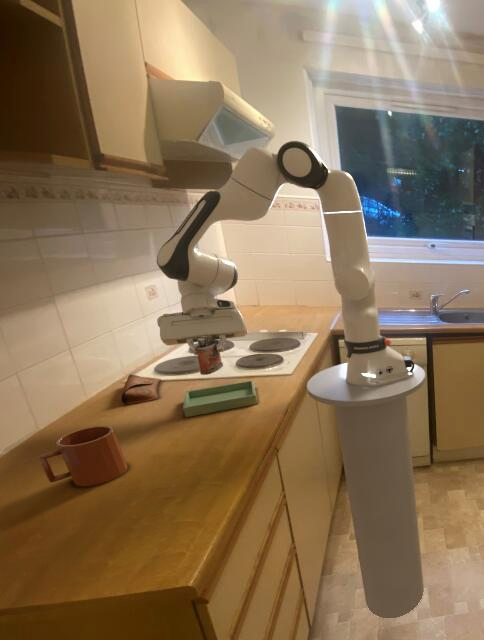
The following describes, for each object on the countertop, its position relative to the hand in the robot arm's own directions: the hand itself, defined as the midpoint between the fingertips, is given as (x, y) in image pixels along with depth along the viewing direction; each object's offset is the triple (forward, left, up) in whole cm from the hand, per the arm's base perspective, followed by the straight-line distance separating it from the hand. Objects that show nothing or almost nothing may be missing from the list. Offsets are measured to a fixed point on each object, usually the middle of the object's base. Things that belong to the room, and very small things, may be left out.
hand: (209, 352), depth 121 cm
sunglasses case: (+21, -21, -16) cm, 33 cm away
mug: (+23, +30, -15) cm, 41 cm away
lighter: (+1, -1, -5) cm, 6 cm away
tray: (0, -1, -15) cm, 15 cm away
